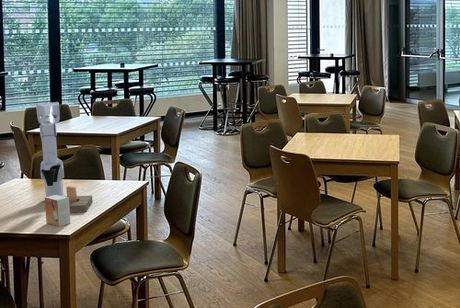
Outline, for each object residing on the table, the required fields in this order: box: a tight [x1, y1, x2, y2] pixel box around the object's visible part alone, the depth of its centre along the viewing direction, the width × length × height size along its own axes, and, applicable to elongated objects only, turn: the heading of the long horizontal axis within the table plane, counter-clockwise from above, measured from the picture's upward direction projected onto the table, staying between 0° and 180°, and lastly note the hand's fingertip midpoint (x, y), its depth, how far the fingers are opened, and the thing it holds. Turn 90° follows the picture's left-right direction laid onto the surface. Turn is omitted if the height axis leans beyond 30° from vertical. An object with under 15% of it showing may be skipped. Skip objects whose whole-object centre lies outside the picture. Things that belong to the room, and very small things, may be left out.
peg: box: [65, 185, 78, 202], centre depth 272 cm, size 4×4×9 cm
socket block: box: [63, 195, 94, 214], centre depth 272 cm, size 16×14×3 cm
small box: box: [44, 195, 71, 227], centre depth 249 cm, size 8×6×10 cm
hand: (52, 183), depth 271 cm, fingers open, 7 cm apart
